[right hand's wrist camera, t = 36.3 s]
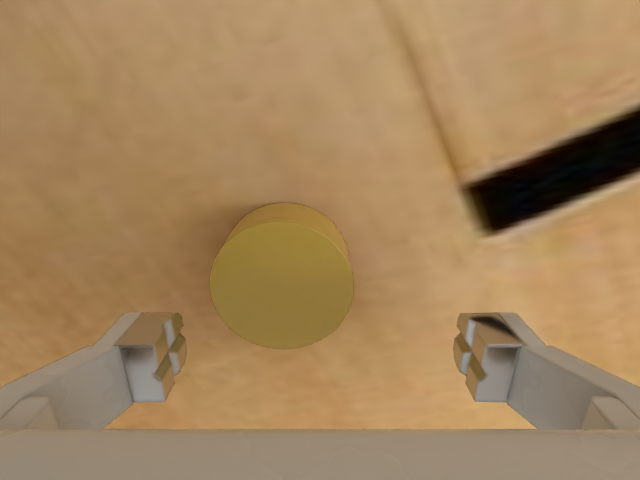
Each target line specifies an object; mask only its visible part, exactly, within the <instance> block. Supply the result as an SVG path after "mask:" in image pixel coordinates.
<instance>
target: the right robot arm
mask: <svg viewBox="0 0 640 480" xmlns="http://www.w3.org/2000/svg"><path fill="white" fill-rule="evenodd" d="M182 327H183V322H182V317H181V315H180V314H179V313H159V312H127V313H124V314H123V315H122V316H121V317H120V318H119V319H118V320H117V321H116V322H115V323H114V324H113V325H112V326H111V327H110V329H109V330H108V331H107V332H106V333H105V334H104V335H103V336H102V337H101V338H100V339H99V340H98V341H97V343H96V344H95V345H94V346H87V347H84V348H82V349H80V350H78V351H76V352H74V353H72V354H70V355H67V356H65V357H63V358H61V359H59V360H57V361H55V362H53V363H51V364H48V365H46V366H44V367H42V368H40V369H38V370H36V371H34V372H31V373H29V374H27V375H25V376H23V377H21V378H19V379H17V380H15V381H12V382H10V383H8V384H6V385H4V386H2V387H0V480H640V387H638V386H636V385H634V384H632V383H630V382H627V381H625V380H623V379H621V378H619V377H617V376H615V375H613V374H611V373H608V372H606V371H604V370H602V369H600V368H598V367H596V366H594V365H592V364H589V363H587V362H585V361H583V360H581V359H579V358H577V357H575V356H573V355H570V354H568V353H566V352H564V351H562V350H560V349H558V348H556V347H553V346H546V345H545V344H544V342H543V341H542V340H541V339H540V338H539V337H538V336H537V335H536V334H535V333H534V332H533V331H532V330H531V329H530V327H529V326H528V325H527V324H526V323H525V322H524V321H523V320H522V319H521V318H520V317H519V316H518V315H517V314H516V313H514V312H495V313H460V315H459V317H458V321H457V327H458V329H459V330H460V332H461V333H460V334H459V335H458V336H457V337H456V338H455V340H454V347H453V350H454V359H455V362H456V365H457V367H458V370H459V371H460V372H461V373H462V374H464V375H465V376H467V377H466V385H467V387H468V389H469V391H470V393H471V395H472V397H473V399H474V400H475V402H507V404H508V405H509V406H510V407H511V408H513V409H514V410H515V411H516V412H518V413H519V414H520V415H521V416H522V417H524V418H525V419H526V420H527V421H529V422H530V423H531V424H532V425H534V426H535V427H536V428H537V429H103V428H104V427H105V426H107V425H108V424H109V423H110V422H111V421H113V420H114V419H115V418H116V417H118V416H119V415H120V414H121V413H123V412H124V411H125V410H126V409H128V408H129V407H130V406H131V405H132V404H133V402H165V401H166V399H167V397H168V395H169V393H170V391H171V389H172V387H173V385H174V377H173V376H175V375H176V374H178V373H179V372H180V371H181V370H182V367H183V365H184V363H185V358H186V339H185V338H184V337H183V336H182V335H181V334H180V333H179V332H180V330H181V329H182Z"/></svg>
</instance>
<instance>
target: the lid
mask: <svg viewBox="0 0 640 480" xmlns="http://www.w3.org/2000/svg"><path fill="white" fill-rule="evenodd" d="M209 285H210V294H211V299H212V301H213V304H214V307H215V309H216V311H217V313H218V315H219V316H220V317H221V319H222V320H223V322H224V323H225V324H226V325H227V326H228V327H229V328H230V329H231V330H232V331H234V332H235V333H236V334H238V335H239V336H240V337H242V338H244V339H246V340H248V341H249V342H252V343H254V344H257V345H260V346H264V347H268V348H274V349H294V348H299V347H304V346H307V345H310V344H313V343H315V342H318V341H319V340H321V339H323V338H325V337H326V336H328V335H329V334H330V333H332V332H333V331H334V330H335V329H336V328H337V327H338V326H339V325H340V324H341V322H342V321H343V320H344V318H345V316H346V315H347V313H348V311H349V309H350V306H351V303H352V299H353V293H354V280H353V275H352V270H351V265H350V261H349V256H348V251H347V247H346V244H345V241H344V239H343V237H342V235H341V233H340V232H339V230H338V229H337V227H336V226H335V225H334V224H333V223H332V222H331V221H330V220H329V219H328V218H327V217H326V216H324V215H323V214H321V213H320V212H318V211H316V210H314V209H312V208H310V207H307V206H304V205H300V204H295V203H275V204H270V205H266V206H263V207H260V208H258V209H256V210H254V211H252V212H250V213H249V214H247V215H246V216H245V217H244V218H242V219H241V220H240V221H239V222H238V224H237V225H236V226H235V227H234V229H233V230H232V232H231V233H230V235H229V237H228V238H227V240H226V241H225V243H224V245H223V246H222V248H221V249H220V251H219V252H218V254H217V256H216V258H215V260H214V262H213V264H212V268H211V272H210V280H209Z"/></svg>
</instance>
